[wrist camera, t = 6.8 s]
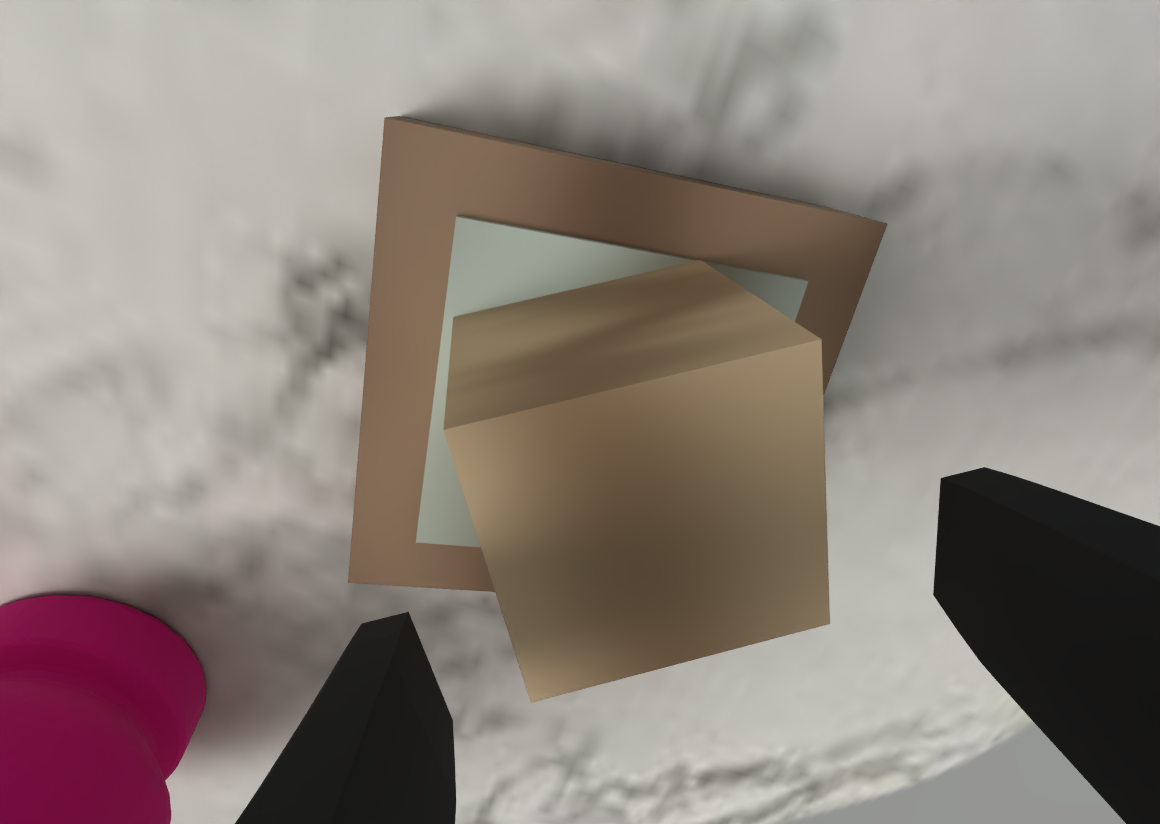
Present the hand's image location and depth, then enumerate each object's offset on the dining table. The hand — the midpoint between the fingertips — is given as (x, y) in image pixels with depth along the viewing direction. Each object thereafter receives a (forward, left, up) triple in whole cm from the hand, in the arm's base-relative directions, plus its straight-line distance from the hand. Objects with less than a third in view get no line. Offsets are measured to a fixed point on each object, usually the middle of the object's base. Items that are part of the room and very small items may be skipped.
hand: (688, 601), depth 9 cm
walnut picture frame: (0, 0, -9) cm, 9 cm away
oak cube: (0, 0, -6) cm, 6 cm away
